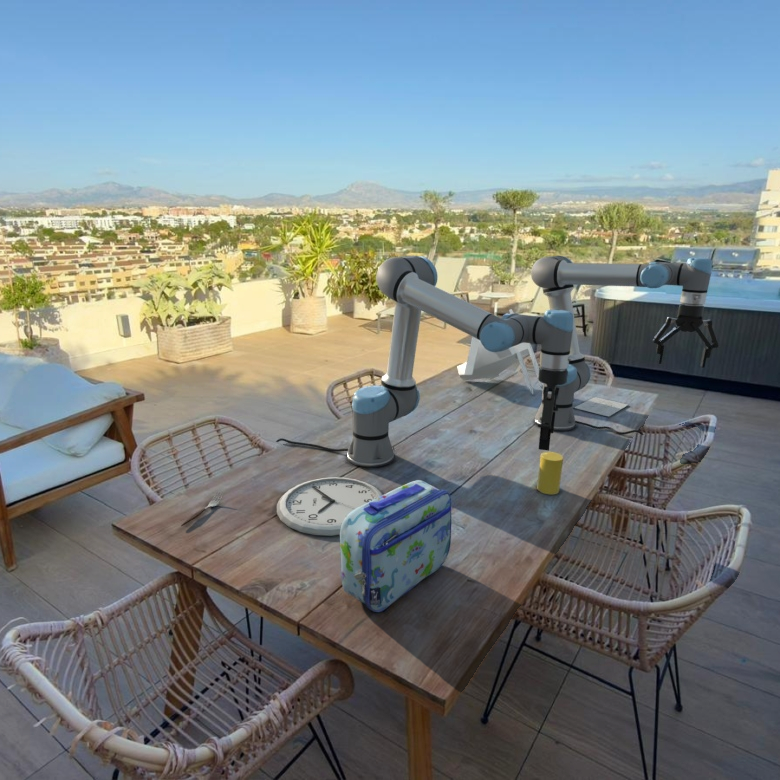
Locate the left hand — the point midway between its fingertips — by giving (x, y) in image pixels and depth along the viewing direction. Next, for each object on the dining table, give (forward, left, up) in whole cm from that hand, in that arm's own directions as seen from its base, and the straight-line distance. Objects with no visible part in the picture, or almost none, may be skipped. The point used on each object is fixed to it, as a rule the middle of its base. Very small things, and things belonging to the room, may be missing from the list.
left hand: (546, 440), depth 148 cm
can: (+2, +2, -16) cm, 16 cm away
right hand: (+40, +60, +12) cm, 73 cm away
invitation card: (+17, +89, -16) cm, 92 cm away
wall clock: (-52, -30, -16) cm, 63 cm away
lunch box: (-25, -54, -16) cm, 62 cm away
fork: (-82, -47, -16) cm, 96 cm away
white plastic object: (-29, +99, -16) cm, 104 cm away
